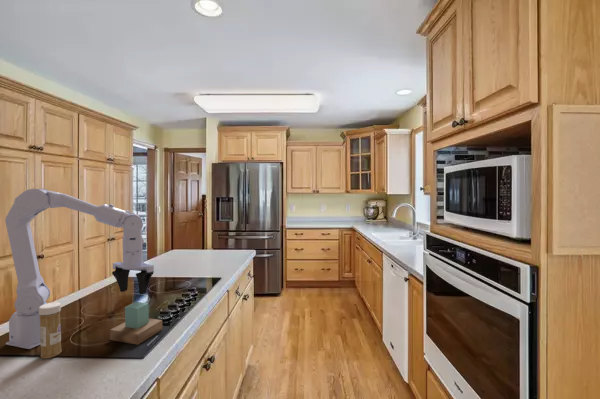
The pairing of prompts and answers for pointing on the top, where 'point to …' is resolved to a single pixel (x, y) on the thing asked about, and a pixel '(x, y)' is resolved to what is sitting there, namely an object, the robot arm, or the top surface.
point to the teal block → (136, 315)
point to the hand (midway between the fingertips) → (133, 292)
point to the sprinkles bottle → (50, 330)
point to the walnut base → (135, 332)
